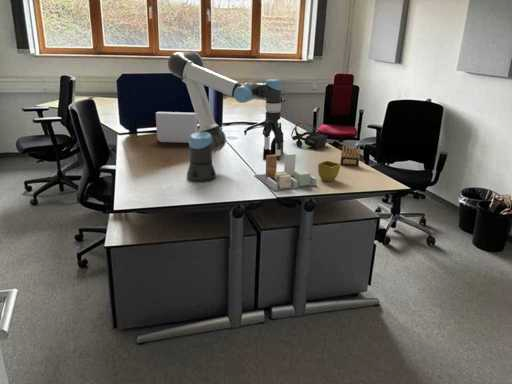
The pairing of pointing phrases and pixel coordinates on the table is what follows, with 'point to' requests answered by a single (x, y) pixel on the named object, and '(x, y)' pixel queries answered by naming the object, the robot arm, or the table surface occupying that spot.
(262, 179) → the lane rack
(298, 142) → the virtual reality headset
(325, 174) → the flower pot
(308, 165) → the table surface
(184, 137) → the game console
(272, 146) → the letter holder
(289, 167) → the sage block
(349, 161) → the ammunition clip
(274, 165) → the birch block
